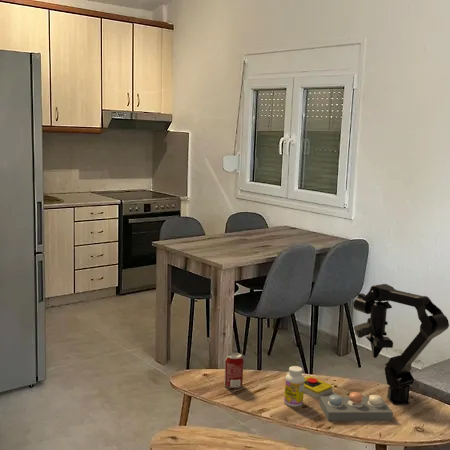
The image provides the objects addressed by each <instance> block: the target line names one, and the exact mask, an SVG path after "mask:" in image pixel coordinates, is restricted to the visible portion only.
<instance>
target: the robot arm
mask: <svg viewBox="0 0 450 450" xmlns="http://www.w3.org/2000/svg"><path fill="white" fill-rule="evenodd" d="M389 302H394V303H398V304H400V305H406V306H408V307H409V306H410V307H413V308H414V309H415V310H416V313H417V318H418V320H419V321H420V322H421V323H420V326H419V332H418V334H416V336H415V337H414V338H413V340H412V341H411V342H410V343H409V344H408V346H407V347H406V348H405V349H404V351H402V353H400V355H396V356H392V357H390V358H389V360H388V362H387V363H384V365H385V366H384V375H385V379H386V385H388V389H387V395H386V397H387V399H388V400H389V401H390V402H391V403H392V405H411V401H409V400H410V390H411V385H413V384H414V382H415V378H414V376H413V375H412V373H411V371H412V364H413V362H414V361H415V360H416V359H417V358H418V357H419V355H420V354H421V353H422V352H423V350H425V348H427V346H428V345H429V343H431V341H432V340H433V339H434V338H436V337H438V336H439V335H442V333H444V332H445V331H446V330H448V329H449V327H450V323H449V319H448V317H447V315H445V314H444V313H443V311H442V310H441V308H439V307H438V306H437V305H436V304H434V302H433V301H432V300H431V299H430V297H429V296H426V295H420V294H415V293H412V292H406V291H402V290H398V289H395V288H394V286H391V285H389V284H387V283H382V284H381V283H380V284H375V285H374V284H373V285H371V287H370V288H369V291H368V292H367V294H365V293H362V292H361V293H358V294H357V296H356V297H355V299H354V300H353V303H352V305H353V306H352V307H353V308H354V310H356V311H357V312H360V313H363V314H367V315H370V316H369V318H367V322H362V323H359V324H357V325H354V326H353V330H354V332H355V333H354V334H355V336H356V337H357V338H358V339H360V338H361V339H362V338H363V337H365V338H366V339H367V340H368V341H369V343H370V348H371V353H372V357H373V358H374V359H377V358H378V356H379V354H380V353H381V351H382V350H383V349H384V348H385V349H387V348H388V349H392V348H394V341H393V340H391V339H390V337H389V336H387V333H388V332H386V326H387V325H388V323H389V322H388V321H387V310H389V309H392V308H393V306H392V305H391V304H390V303H389ZM427 312H429V314H431V315H429V314H428V313H427Z"/></svg>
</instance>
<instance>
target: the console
mask: <svg viewBox="0 0 450 450" xmlns="http://www.w3.org/2000/svg"><path fill="white" fill-rule="evenodd" d="M340 396H341V395H340ZM349 396H350V395H347V396H345V395H344V396H341V397H342V398H343V399H342V404H341V405H332V404H330V403H329V396H320V400H318V402H319V403H318V405H319V407H320V409H321V411H322V412H323V414H324V416H325V418H326V420H327V422H365V421H366V422H370V421H371V422H376V421H377V422H380V421H381V422H386V421H387V422H388V421H389V422H392V421H393V416H394V411H393V410H392V409H391V408H390V407H389V405H388V404H387V402H386V401H385V400H384V399H383V398H382V405H372V404H370V403H369V396H370V395H369V396H367V395H365V396H364V395H363V399H362V402H360V403H356V402H352V401H350V400H349Z"/></svg>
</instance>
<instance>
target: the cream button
mask: <svg viewBox="0 0 450 450" xmlns="http://www.w3.org/2000/svg"><path fill="white" fill-rule="evenodd" d="M382 399H383V397H382V396H381V395H378V394H370V395H369V403H370V404H372V405H382Z"/></svg>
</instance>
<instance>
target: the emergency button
mask: <svg viewBox="0 0 450 450" xmlns="http://www.w3.org/2000/svg"><path fill="white" fill-rule="evenodd" d="M304 379H305V381H304V395H308V396H309V397H312V398H314V399H316V400H318V401H319V400H320V396H330V395H338V394H337V393H336V392H334V391H333V385H332V384H331V383H328V382H325V381H323V380H321V379H319V378H316V377H313V376H312V375H310V376H309V375H308V376H304Z"/></svg>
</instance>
